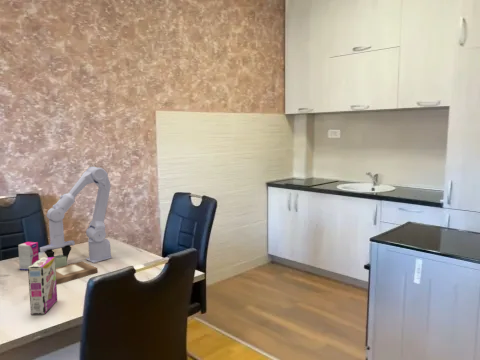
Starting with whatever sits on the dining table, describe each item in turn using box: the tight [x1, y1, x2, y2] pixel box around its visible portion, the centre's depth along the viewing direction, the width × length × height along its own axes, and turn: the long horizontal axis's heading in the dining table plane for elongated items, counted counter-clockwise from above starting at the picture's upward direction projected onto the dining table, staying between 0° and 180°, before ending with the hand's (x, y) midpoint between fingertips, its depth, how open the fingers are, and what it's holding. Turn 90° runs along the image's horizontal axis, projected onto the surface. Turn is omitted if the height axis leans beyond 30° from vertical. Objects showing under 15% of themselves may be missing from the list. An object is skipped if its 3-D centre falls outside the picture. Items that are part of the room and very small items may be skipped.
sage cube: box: [54, 253, 68, 268], centre depth 176 cm, size 5×5×5 cm
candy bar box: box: [27, 256, 58, 315], centre depth 135 cm, size 11×5×16 cm, turn 5°
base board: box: [56, 261, 99, 286], centre depth 167 cm, size 18×14×2 cm
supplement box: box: [17, 241, 40, 272], centre depth 175 cm, size 6×6×12 cm
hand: (59, 264), depth 176 cm, fingers closed on sage cube, 5 cm apart
